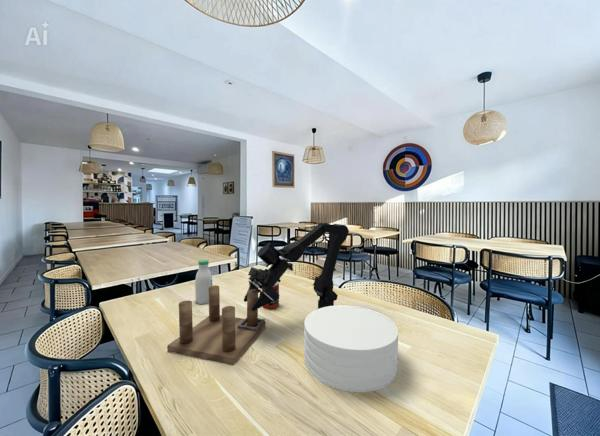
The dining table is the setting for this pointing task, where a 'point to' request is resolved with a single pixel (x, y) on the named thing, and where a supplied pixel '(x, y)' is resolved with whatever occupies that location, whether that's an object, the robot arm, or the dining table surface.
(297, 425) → the dining table surface
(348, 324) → the plate stack
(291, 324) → the dining table surface
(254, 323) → the stool leg
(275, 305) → the canned food
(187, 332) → the peg board
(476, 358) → the dining table surface
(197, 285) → the milk bottle
